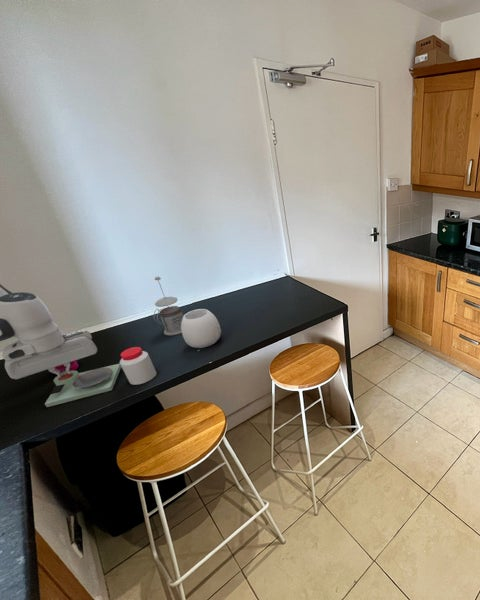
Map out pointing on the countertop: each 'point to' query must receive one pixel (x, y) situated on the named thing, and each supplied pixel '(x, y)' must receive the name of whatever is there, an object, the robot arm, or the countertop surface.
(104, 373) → the scale top
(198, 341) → the white round vase
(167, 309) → the french press
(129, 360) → the pill bottle
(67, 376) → the button
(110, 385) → the scale
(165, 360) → the countertop surface
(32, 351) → the robot arm
